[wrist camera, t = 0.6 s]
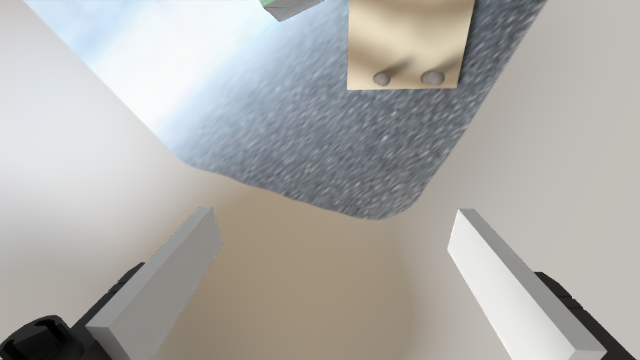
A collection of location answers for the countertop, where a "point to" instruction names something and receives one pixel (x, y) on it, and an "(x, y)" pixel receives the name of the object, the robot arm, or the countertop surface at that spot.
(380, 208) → the countertop surface
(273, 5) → the box
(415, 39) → the tray
